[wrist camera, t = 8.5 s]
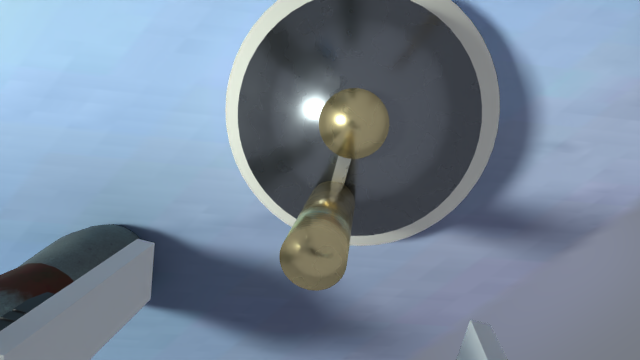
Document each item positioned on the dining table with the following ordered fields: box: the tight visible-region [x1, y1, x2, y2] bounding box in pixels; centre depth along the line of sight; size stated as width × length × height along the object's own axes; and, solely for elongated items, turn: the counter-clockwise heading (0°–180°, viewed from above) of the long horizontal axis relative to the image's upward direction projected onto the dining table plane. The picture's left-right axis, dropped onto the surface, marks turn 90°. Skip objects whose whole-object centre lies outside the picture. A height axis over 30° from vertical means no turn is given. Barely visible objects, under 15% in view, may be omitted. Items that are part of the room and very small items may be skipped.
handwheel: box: [238, 0, 482, 290], centre depth 24 cm, size 18×18×12 cm
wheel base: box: [225, 0, 500, 246], centre depth 31 cm, size 22×22×4 cm
